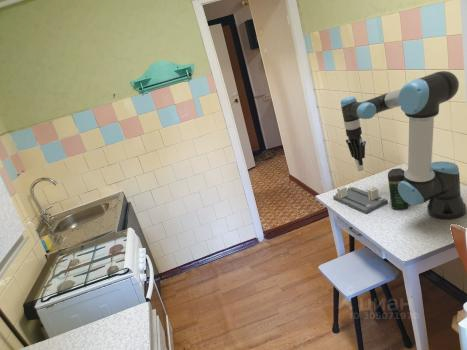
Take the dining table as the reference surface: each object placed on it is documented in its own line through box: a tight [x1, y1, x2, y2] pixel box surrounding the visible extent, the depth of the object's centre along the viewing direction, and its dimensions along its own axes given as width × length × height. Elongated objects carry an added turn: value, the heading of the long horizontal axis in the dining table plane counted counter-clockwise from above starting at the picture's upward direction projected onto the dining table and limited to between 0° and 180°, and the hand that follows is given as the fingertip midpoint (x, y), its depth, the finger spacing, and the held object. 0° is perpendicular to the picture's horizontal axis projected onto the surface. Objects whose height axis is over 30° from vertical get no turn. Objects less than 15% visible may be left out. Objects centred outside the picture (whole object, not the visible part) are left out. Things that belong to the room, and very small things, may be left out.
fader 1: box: [336, 185, 348, 198], centre depth 203 cm, size 3×4×5 cm
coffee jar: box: [387, 167, 410, 211], centre depth 181 cm, size 10×8×19 cm
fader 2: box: [366, 186, 380, 200], centre depth 192 cm, size 3×4×5 cm
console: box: [332, 186, 389, 215], centre depth 198 cm, size 26×14×3 cm, turn 22°
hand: (360, 170), depth 198 cm, fingers closed
